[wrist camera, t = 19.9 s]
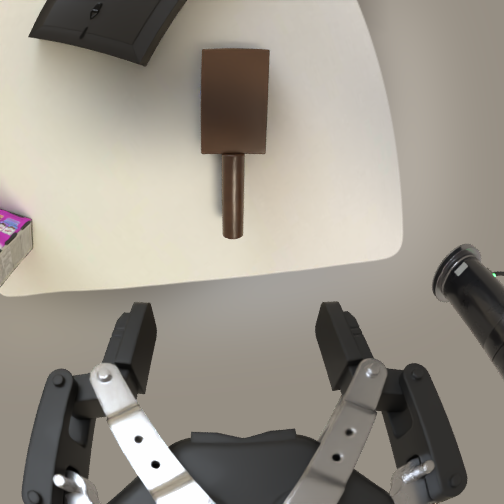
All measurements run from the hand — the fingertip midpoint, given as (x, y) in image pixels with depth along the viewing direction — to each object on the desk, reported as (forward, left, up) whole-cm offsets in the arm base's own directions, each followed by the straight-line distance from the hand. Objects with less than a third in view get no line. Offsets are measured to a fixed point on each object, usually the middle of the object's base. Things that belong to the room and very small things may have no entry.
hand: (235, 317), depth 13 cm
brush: (0, -5, -18) cm, 19 cm away
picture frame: (+11, -26, -18) cm, 34 cm away
